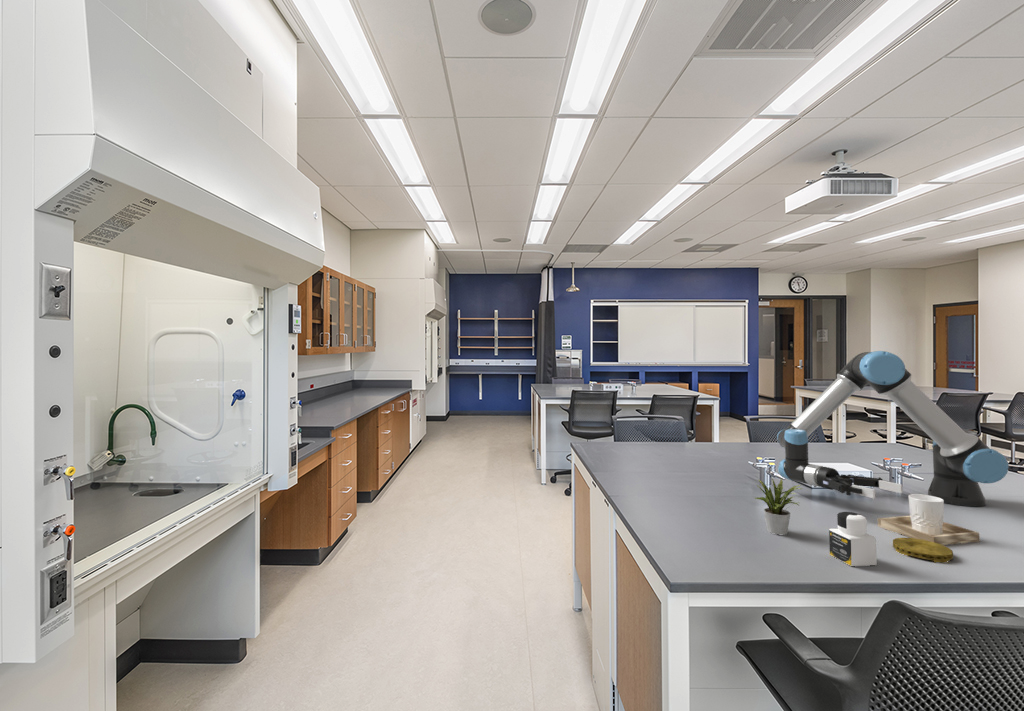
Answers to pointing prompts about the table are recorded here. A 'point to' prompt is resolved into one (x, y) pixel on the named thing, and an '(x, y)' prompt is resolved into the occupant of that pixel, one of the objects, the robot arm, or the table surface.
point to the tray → (949, 534)
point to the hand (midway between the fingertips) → (888, 491)
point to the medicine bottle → (852, 541)
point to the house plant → (777, 508)
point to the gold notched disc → (923, 549)
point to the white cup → (926, 513)
